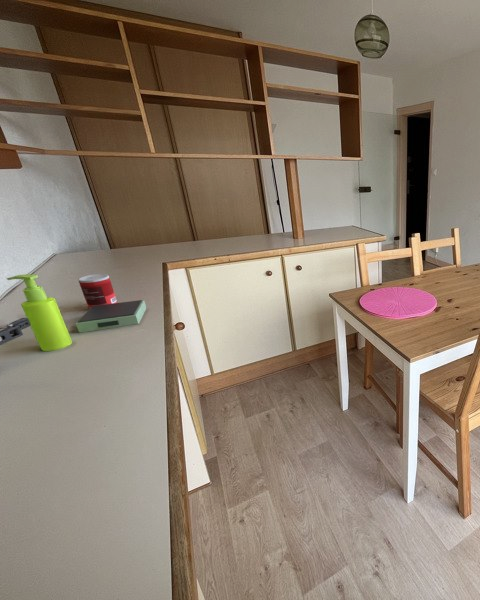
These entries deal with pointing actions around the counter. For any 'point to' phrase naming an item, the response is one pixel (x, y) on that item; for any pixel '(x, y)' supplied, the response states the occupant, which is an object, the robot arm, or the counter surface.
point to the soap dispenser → (44, 316)
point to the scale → (111, 316)
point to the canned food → (97, 290)
